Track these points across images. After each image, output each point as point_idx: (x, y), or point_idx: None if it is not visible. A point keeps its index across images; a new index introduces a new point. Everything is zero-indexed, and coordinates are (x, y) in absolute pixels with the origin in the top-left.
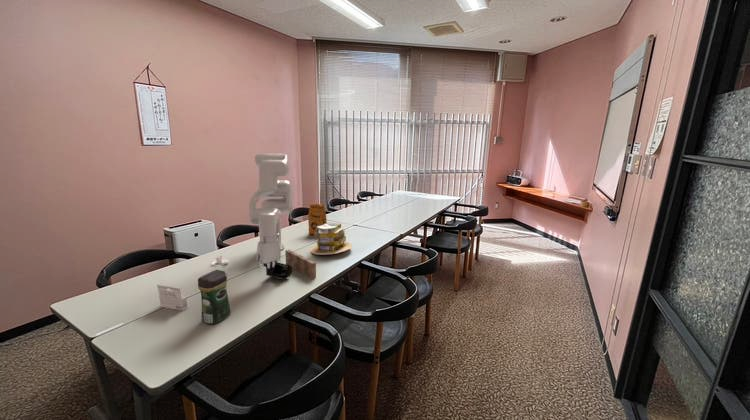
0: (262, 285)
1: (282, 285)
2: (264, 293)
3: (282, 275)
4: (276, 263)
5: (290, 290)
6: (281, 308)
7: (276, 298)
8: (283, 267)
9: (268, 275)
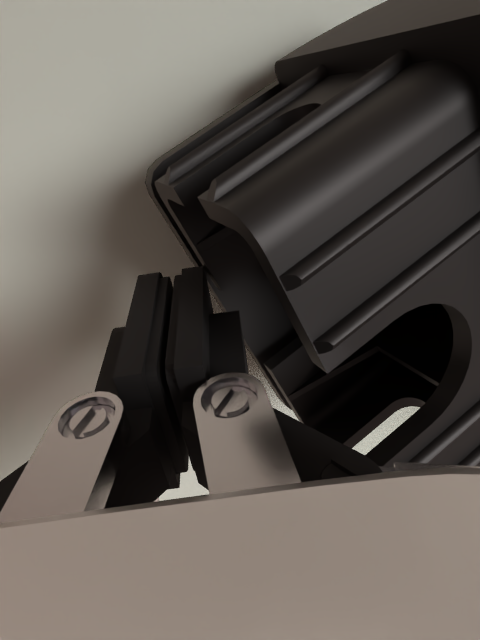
0: (61, 299)
1: (272, 403)
2: None
3: (334, 412)
4: (446, 259)
5: None
6: None
7: None
8: None
9: (176, 234)
